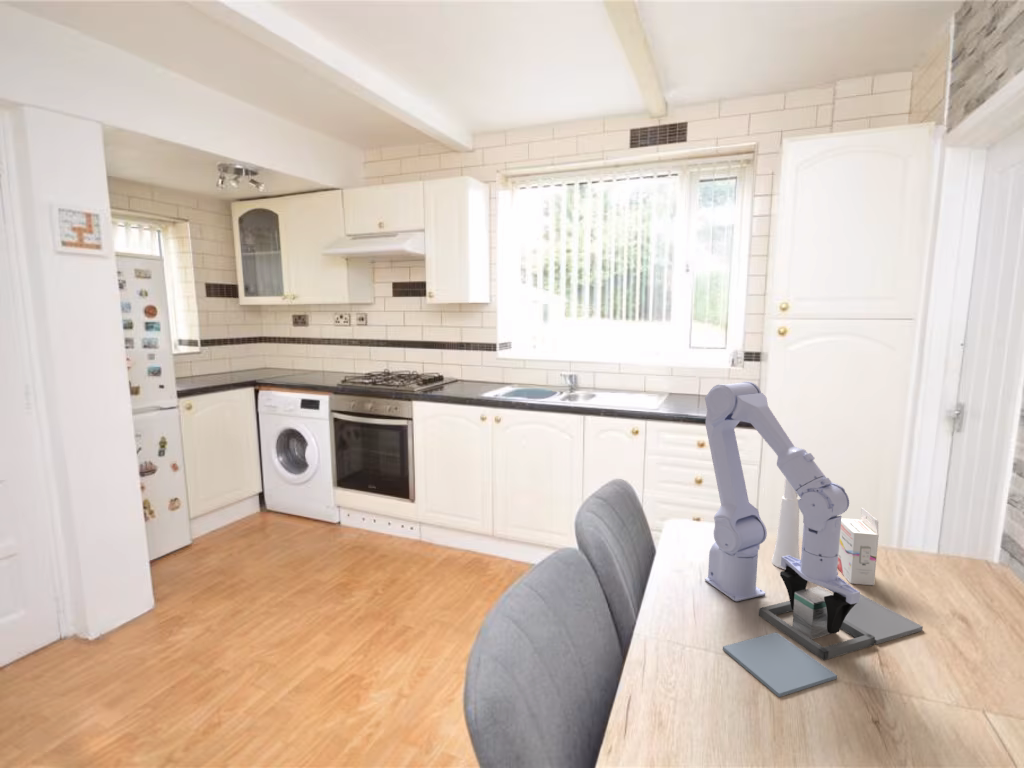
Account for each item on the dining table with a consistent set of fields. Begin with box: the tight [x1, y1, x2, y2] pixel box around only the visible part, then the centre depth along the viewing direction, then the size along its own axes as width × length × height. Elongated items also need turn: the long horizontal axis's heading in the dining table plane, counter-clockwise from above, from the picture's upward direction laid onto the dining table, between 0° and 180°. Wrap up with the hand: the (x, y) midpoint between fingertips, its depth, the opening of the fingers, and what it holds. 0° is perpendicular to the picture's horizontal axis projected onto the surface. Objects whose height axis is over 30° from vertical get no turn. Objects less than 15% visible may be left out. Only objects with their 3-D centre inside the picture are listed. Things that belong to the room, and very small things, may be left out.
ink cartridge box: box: [837, 507, 880, 586], centre depth 114 cm, size 9×5×15 cm, turn 168°
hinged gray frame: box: [758, 592, 924, 661], centre depth 97 cm, size 14×24×2 cm, turn 109°
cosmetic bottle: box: [771, 476, 801, 570], centre depth 119 cm, size 6×6×22 cm
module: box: [791, 585, 833, 640], centre depth 95 cm, size 4×6×7 cm, turn 109°
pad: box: [722, 632, 838, 698], centre depth 86 cm, size 12×12×1 cm
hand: (814, 619), depth 95 cm, fingers open, 7 cm apart
